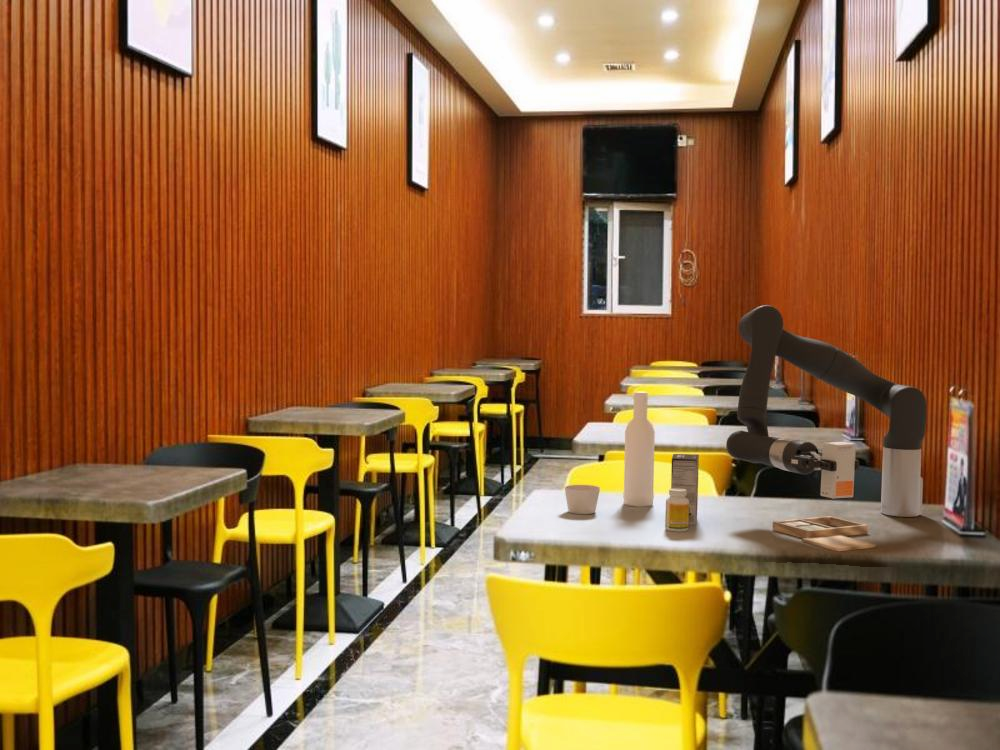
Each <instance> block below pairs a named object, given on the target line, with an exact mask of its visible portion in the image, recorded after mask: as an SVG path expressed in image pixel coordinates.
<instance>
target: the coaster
mask: <svg viewBox="0 0 1000 750" xmlns="http://www.w3.org/2000/svg"><path fill="white" fill-rule="evenodd" d="M801 542H803V543H807V544H809V545H814V546H817V547H821V548H824V549H827V550H828V549H829V550H832V551H836V552H844V551H845V552H846V551H853V550H855V551H856V550H861V549H870V548H876V547H877V544H876V543H872V542H869V541H864V540H860V539H857V538H853V537H850V536H849V537H848V536H842V535H832V536H822V537H813V538H801Z"/></svg>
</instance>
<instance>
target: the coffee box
mask: <svg viewBox="0 0 1000 750" xmlns="http://www.w3.org/2000/svg"><path fill="white" fill-rule="evenodd" d="M699 456H700V455H699V454H689V453H687V454H686V453H673V455H672V458H671V473H670V474H671V478H670V483H671V484H670V485H671V486H670V489H671V488H683V489H686V490H687V495H686V496H685V498H687V499H688V500H689V521H688V526H696V525H697V522H698V504H699V503H698V500H699V498H698V497H699V464H700V463H699Z"/></svg>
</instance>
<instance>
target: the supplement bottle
mask: <svg viewBox="0 0 1000 750" xmlns="http://www.w3.org/2000/svg"><path fill="white" fill-rule="evenodd" d="M668 491H669V492H668V495H669V497H666V499H665V520H664V522H665V524H664V528H665V530H667V531H669V532H677V533H682V532H683V533H684V532H688V530H689V525H688V521H689V500H688V499H687V498H685V496H686V495H687V490H686V489H683V488H671V487H670V488H669V490H668Z"/></svg>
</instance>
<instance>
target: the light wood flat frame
mask: <svg viewBox="0 0 1000 750" xmlns="http://www.w3.org/2000/svg"><path fill="white" fill-rule="evenodd" d="M868 530H869V525H868V524H864V523H861V522H856V521H852V520H848V519H845V518H844V519H843V518H839V517H837V516H831V515H829V516H828V515H827V516H815V517H808V518H807V517H806V518H797V519H786V520H785V519H784V520H773V521H772V531H775V532H778V533H781V534H786V535H790V536H793V537H797V538H799V539H804V538H813V537H822V536H832V535H842V536H846V537H848V536H849V537H850V536H857V535H867V534H868V532H869V531H868Z"/></svg>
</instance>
